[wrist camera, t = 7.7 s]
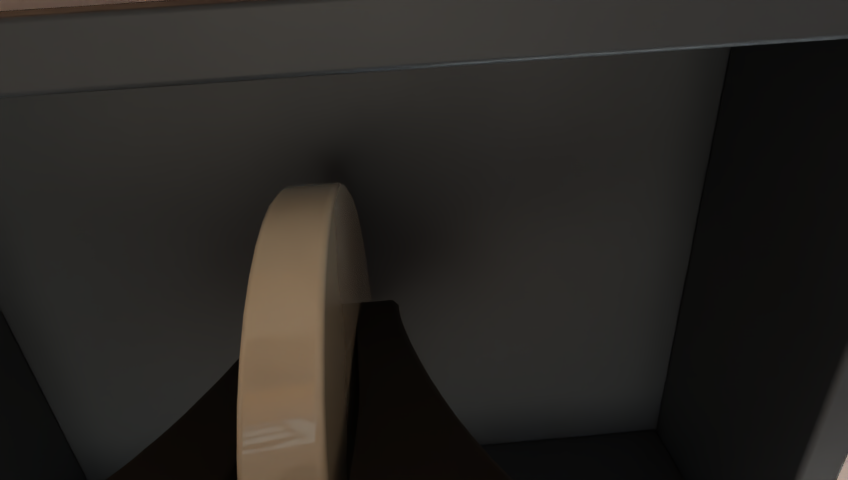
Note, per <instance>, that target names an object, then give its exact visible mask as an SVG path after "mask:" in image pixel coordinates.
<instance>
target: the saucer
mask: <svg viewBox="0 0 848 480" xmlns="http://www.w3.org/2000/svg"><path fill="white" fill-rule="evenodd" d="M362 302H372V298H371V290H370V282H369V274H368V267H367V261H366V254H365V248H364V242H363V237H362V232H361V227H360V222H359V218H358V214H357V211H356V207H355V204H354V201H353V198H352V196H351V194H350V192H349V190H348V188H347V186H346V185H345V184H343V183H342V182H339V181H334V182H321V183H308V184H295V185H289V186H287V187H285V188H283V189H282V190H281V191H280V192H278V193H277V194H276V196H275V197H274V199H273V200H272V202H271V203H270V205H269V208H268V210H267V212H266V215H265V217H264V219H263V222H262V225H261V229H260V232H259V235H258V239H257V242H256V245H255V250H254V255H253V260H252V265H251V269H250V274H249V279H248V285H247V292H246V299H245V306H244V313H243V321H242V332H241V343H240V353H239V367H238V388H237V412H236V467H237V480H349V479H350V472H351V466H352V459H353V452H354V445H355V437H356V429H357V421H358V413H359V367H358V343H357V320H358V315H359V310H360V307H361V303H362Z"/></svg>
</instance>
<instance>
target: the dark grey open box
mask: <svg viewBox="0 0 848 480" xmlns="http://www.w3.org/2000/svg"><path fill="white" fill-rule="evenodd" d="M334 181H339V182H342V183H343V184H345V185H346V186H347V188H348V190H349V192H350V194H351V196H352V198H353V201H354V204H355V207H356V211H357V214H358V218H359V222H360V227H361V232H362V237H363V242H364V248H365V254H366V261H367V267H368V274H369V282H370V290H371V298H372V302H373V301H385V300H393V301H395V302H396V303H397V304H399V312H400V316H401V319H402V322H403V325H404V328H405V330H406V333H407V335H408V337H409V340H410V342H411V344H412V346H413V348H414V350H415V352H416V353H417V355H418V357H419V359H420V361H421V363H422V364H423V366H424V368H425V370H426V371H427V373H428V375H429V376H430V378H431V380H432V381H433V383H434V384H435V386H436V387H437V389H438V390H439V392H440V393H441V395H442V396H443V398H444V399H445V401H446V402H447V404H448V405H449V407H450V408H451V409H452V411H453V412H454V413H455V415H456V416H457V417H458V419H459V420H460V421H461V422H462V424H463V425H464V426H465V427H466V429H467V430H468V431H469V432H470V434H471V435H472V436H473V437H474V439H475V440H476V441H477V442H478V443H479V444H480V445H481V447H482V448H483V449H484V450H485V451H486V452H487V454H488V455H489V456H490V457H491V458H492V459H493V460H494V461H495V462H496V463H497V464H498V465H499V466H500V467H501V468H502V469H503V470H504V471H505V472H506V473H507V474H508V475H509V476H510V477H511V478H512V480H837V478H838V475H839V473H840V471H841V468H842V466H843V464H844V462H845V459H846V457H847V455H848V0H167V1H152V2H136V3H121V4H106V5H90V6H75V7H60V8H44V9H29V10H14V11H0V480H106V479H107V478H109V477H110V476H111V475H113V474H114V473H116V472H117V471H118V470H120V469H121V468H122V467H123V466H125V465H126V464H127V463H128V462H130V461H131V460H132V459H133V458H134V457H136V456H137V455H138V454H139V453H140V452H142V451H143V450H144V449H145V448H146V447H148V446H149V445H150V444H151V443H152V442H154V441H155V440H156V439H157V438H158V437H160V436H161V435H162V434H163V433H164V432H165V431H166V430H167V429H169V428H170V427H171V426H172V425H173V424H174V423H175V422H176V421H177V420H179V419H180V418H181V417H182V416H183V415H184V414H185V413H186V412H187V411H188V410H189V409H190V408H191V407H192V406H193V405H194V404H195V403H196V402H197V401H198V400H199V399H200V398H201V397H202V396H203V395H204V394H205V393H206V392H207V391H208V390H209V389H210V388H211V387H212V386H213V385H214V384H215V383H216V382H217V381H218V380H219V379H220V378H221V377H222V376H223V375H224V374H225V373H226V372H227V371H228V370H229V368H230V367H231V366H232V365H233V364H234V363H235V362H236V361H237V360H238V359H239V353H240V343H241V332H242V321H243V313H244V306H245V299H246V292H247V285H248V279H249V274H250V269H251V265H252V260H253V255H254V250H255V245H256V242H257V239H258V235H259V232H260V229H261V225H262V222H263V219H264V217H265V215H266V212H267V210H268V208H269V205H270V203H271V202H272V200H273V199H274V197H275V196H276V194H277V193H278V192H280V191H281V190H282V189H283V188H285V187H287V186H289V185H295V184H308V183H321V182H334Z"/></svg>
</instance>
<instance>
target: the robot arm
mask: <svg viewBox="0 0 848 480" xmlns="http://www.w3.org/2000/svg"><path fill="white" fill-rule="evenodd" d="M357 343H358V367H359V413H358V421H357V429H356V437H355V445H354V452H353V459H352V466H351V472H350V479H349V480H512V478H511V477H510V476H509V475H508V474H507V473H506V472H505V471H504V470H503V469H502V468H501V467H500V466H499V465H498V464H497V463H496V462H495V461H494V460H493V459H492V458H491V457H490V456H489V455H488V454H487V452H486V451H485V450H484V449H483V448H482V447H481V445H480V444H479V443H478V442H477V441H476V440H475V439H474V437H473V436H472V435H471V434H470V432H469V431H468V430H467V429H466V427H465V426H464V425H463V424H462V422H461V421H460V420H459V419H458V417H457V416H456V415H455V413H454V412H453V411H452V409H451V408H450V407H449V405H448V404H447V402H446V401H445V399H444V398H443V396H442V395H441V393H440V392H439V390H438V389H437V387H436V386H435V384H434V383H433V381H432V380H431V378H430V376H429V375H428V373H427V371H426V370H425V368H424V366H423V364H422V363H421V361H420V359H419V357H418V355H417V353H416V352H415V350H414V348H413V346H412V344H411V342H410V340H409V337H408V335H407V333H406V330H405V328H404V325H403V322H402V319H401V316H400V312H399V304H397V303H396V302H395V301H393V300H385V301H373V302H362V303H361V307H360V310H359V315H358V320H357ZM238 367H239V359H238V360H237V361H236V362H235V363H234V364H233V365H232V366H231V367H230V368H229V370H228V371H227V372H226V373H225V374H224V375H223V376H222V377H221V378H220V379H219V380H218V381H217V382H216V383H215V384H214V385H213V386H212V387H211V388H210V389H209V390H208V391H207V392H206V393H205V394H204V395H203V396H202V397H201V398H200V399H199V400H198V401H197V402H196V403H195V404H194V405H193V406H192V407H191V408H190V409H189V410H188V411H187V412H186V413H185V414H184V415H183V416H182V417H181V418H180V419H179V420H177V421H176V422H175V423H174V424H173V425H172V426H171V427H170V428H169V429H167V430H166V431H165V432H164V433H163V434H162V435H161V436H160V437H158V438H157V439H156V440H155V441H154V442H152V443H151V444H150V445H149V446H148V447H146V448H145V449H144V450H143V451H142V452H140V453H139V454H138V455H137V456H136V457H134V458H133V459H132V460H131V461H130V462H128V463H127V464H126V465H125V466H123V467H122V468H121V469H120V470H118V471H117V472H116V473H114V474H113V475H111V476H110V477H109V478H107V479H106V480H237V467H236V412H237V388H238Z"/></svg>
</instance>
